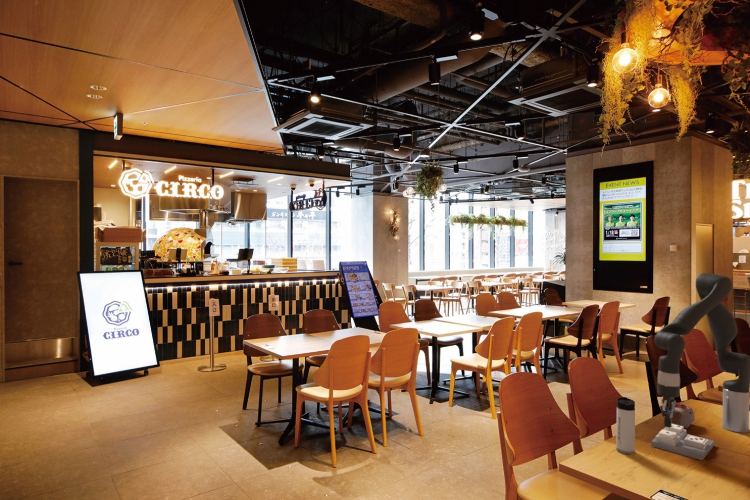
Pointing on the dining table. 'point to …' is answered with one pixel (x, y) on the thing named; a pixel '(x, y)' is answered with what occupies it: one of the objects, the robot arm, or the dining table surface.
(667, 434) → the button one
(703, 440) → the button three
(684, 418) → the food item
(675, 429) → the button two
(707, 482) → the dining table surface
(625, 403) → the travel mug
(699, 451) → the button board
